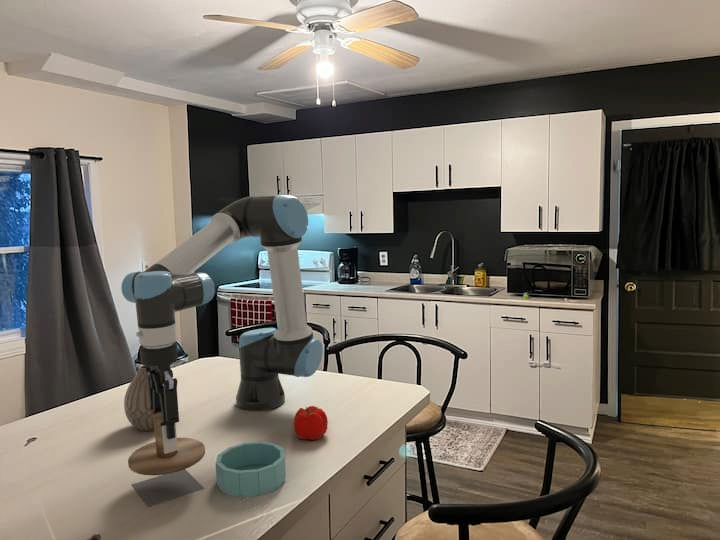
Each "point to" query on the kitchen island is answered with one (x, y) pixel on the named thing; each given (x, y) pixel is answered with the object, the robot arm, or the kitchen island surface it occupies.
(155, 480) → the mat
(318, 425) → the tomato
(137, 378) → the vase
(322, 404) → the kitchen island surface
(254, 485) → the bowl
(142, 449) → the lid
